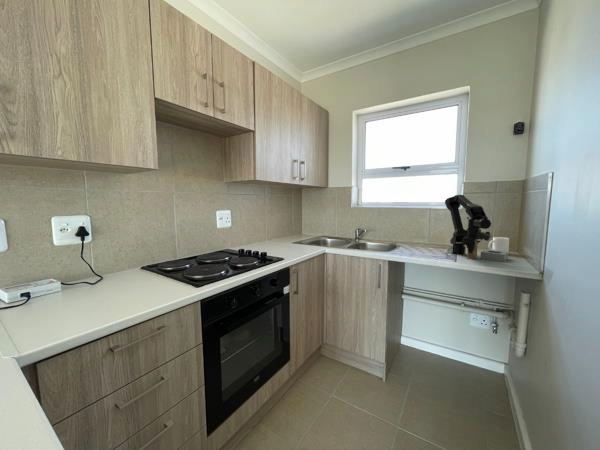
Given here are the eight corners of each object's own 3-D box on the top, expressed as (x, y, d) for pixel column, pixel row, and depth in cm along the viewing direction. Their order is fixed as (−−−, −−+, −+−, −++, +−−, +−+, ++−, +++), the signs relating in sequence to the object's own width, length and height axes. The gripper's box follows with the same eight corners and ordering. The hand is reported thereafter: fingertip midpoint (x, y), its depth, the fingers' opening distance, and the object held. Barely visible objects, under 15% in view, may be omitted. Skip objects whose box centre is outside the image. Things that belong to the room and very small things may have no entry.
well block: (480, 258, 148) (480, 251, 147) (485, 255, 155) (485, 249, 155) (503, 261, 139) (504, 254, 139) (507, 258, 147) (508, 252, 146)
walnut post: (466, 258, 148) (467, 242, 147) (468, 257, 151) (469, 241, 150) (474, 259, 145) (475, 242, 144) (476, 258, 148) (477, 242, 147)
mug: (492, 254, 157) (493, 239, 156) (483, 252, 165) (484, 237, 164) (511, 254, 157) (512, 238, 156) (501, 252, 165) (502, 237, 164)
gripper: (486, 229, 134) (484, 257, 136) (494, 226, 146) (492, 252, 148) (462, 227, 142) (461, 254, 144) (472, 225, 155) (470, 249, 156)
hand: (472, 252), depth 148 cm, fingers open, 5 cm apart
